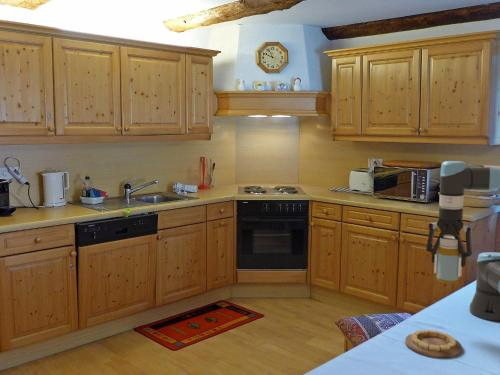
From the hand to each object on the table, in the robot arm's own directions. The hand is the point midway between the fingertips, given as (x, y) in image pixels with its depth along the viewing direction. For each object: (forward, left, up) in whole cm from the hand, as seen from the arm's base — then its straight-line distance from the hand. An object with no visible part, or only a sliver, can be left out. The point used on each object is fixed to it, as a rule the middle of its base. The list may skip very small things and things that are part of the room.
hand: (447, 273), depth 180 cm
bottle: (0, 0, -3) cm, 3 cm away
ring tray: (+12, +12, -19) cm, 26 cm away
